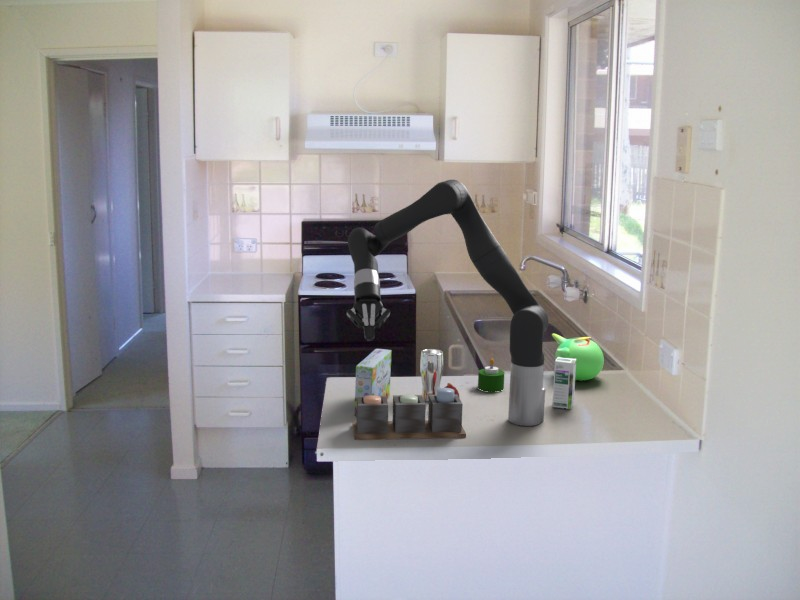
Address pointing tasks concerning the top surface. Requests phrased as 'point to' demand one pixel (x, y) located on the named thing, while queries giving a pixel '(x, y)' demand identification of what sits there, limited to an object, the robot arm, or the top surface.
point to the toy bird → (581, 355)
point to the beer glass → (431, 371)
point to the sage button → (408, 399)
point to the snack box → (373, 375)
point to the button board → (409, 419)
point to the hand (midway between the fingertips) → (369, 339)
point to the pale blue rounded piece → (445, 395)
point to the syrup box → (564, 383)
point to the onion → (452, 388)
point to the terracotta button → (372, 399)
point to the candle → (491, 378)
